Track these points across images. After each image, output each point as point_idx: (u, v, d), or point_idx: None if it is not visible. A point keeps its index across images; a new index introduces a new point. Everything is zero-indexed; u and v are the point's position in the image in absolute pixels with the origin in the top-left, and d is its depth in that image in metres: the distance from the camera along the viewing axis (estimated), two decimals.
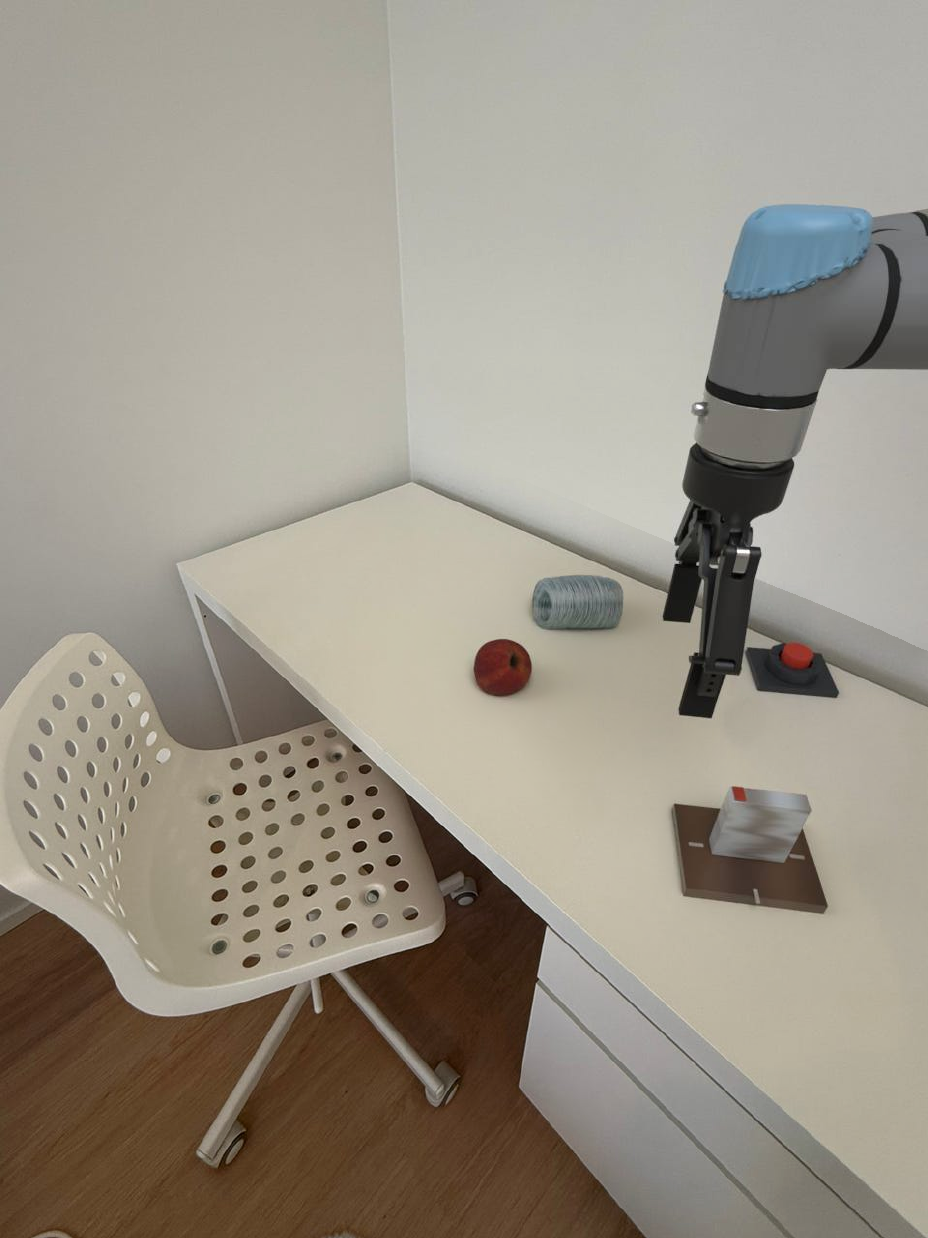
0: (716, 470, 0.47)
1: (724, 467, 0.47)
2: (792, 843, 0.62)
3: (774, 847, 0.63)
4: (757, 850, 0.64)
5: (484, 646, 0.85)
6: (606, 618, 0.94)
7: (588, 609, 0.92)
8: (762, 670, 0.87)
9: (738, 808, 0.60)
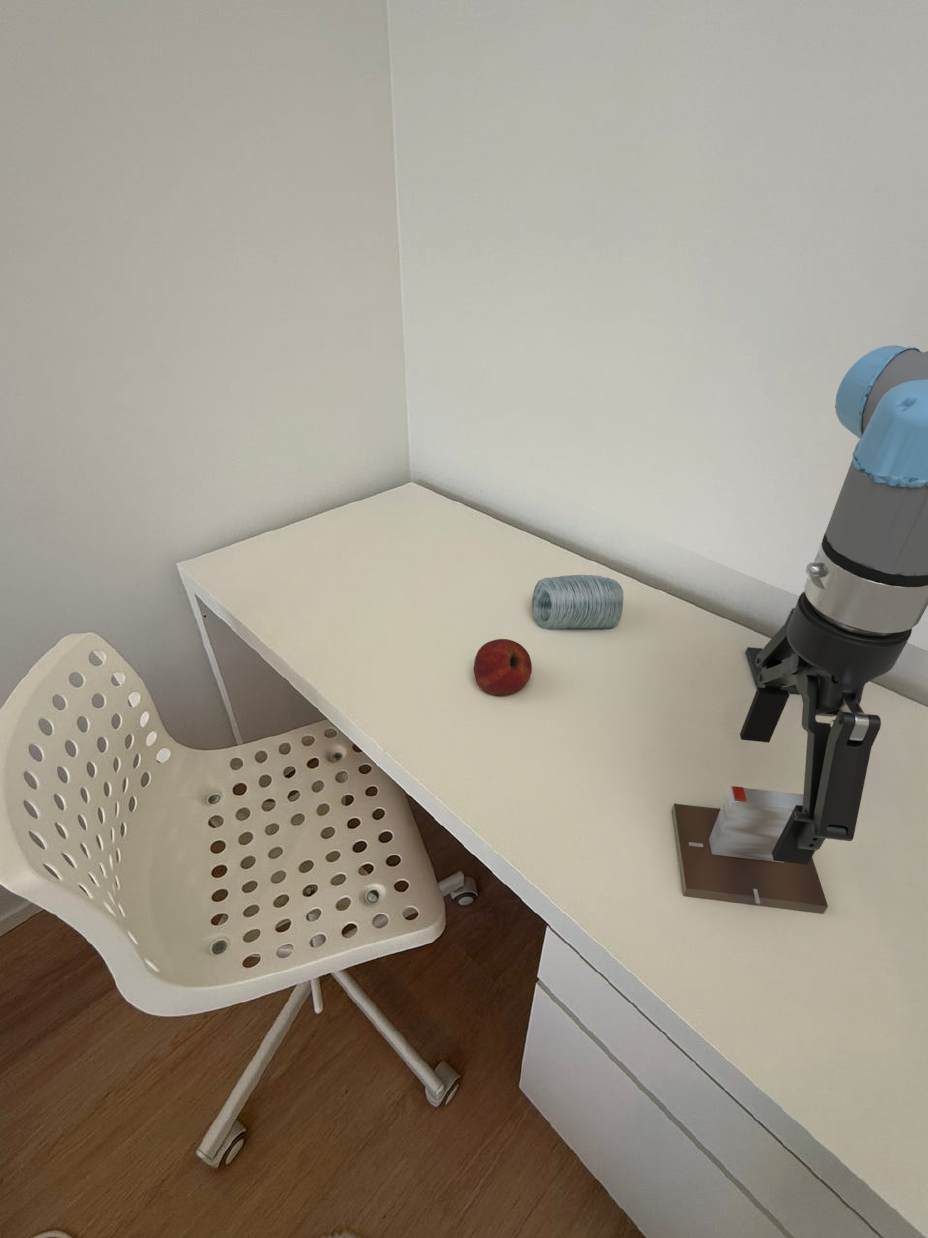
0: (833, 635, 0.45)
1: (842, 632, 0.45)
2: None
3: None
4: (757, 850, 0.64)
5: (484, 646, 0.85)
6: (606, 618, 0.94)
7: (588, 609, 0.92)
8: None
9: (738, 808, 0.60)
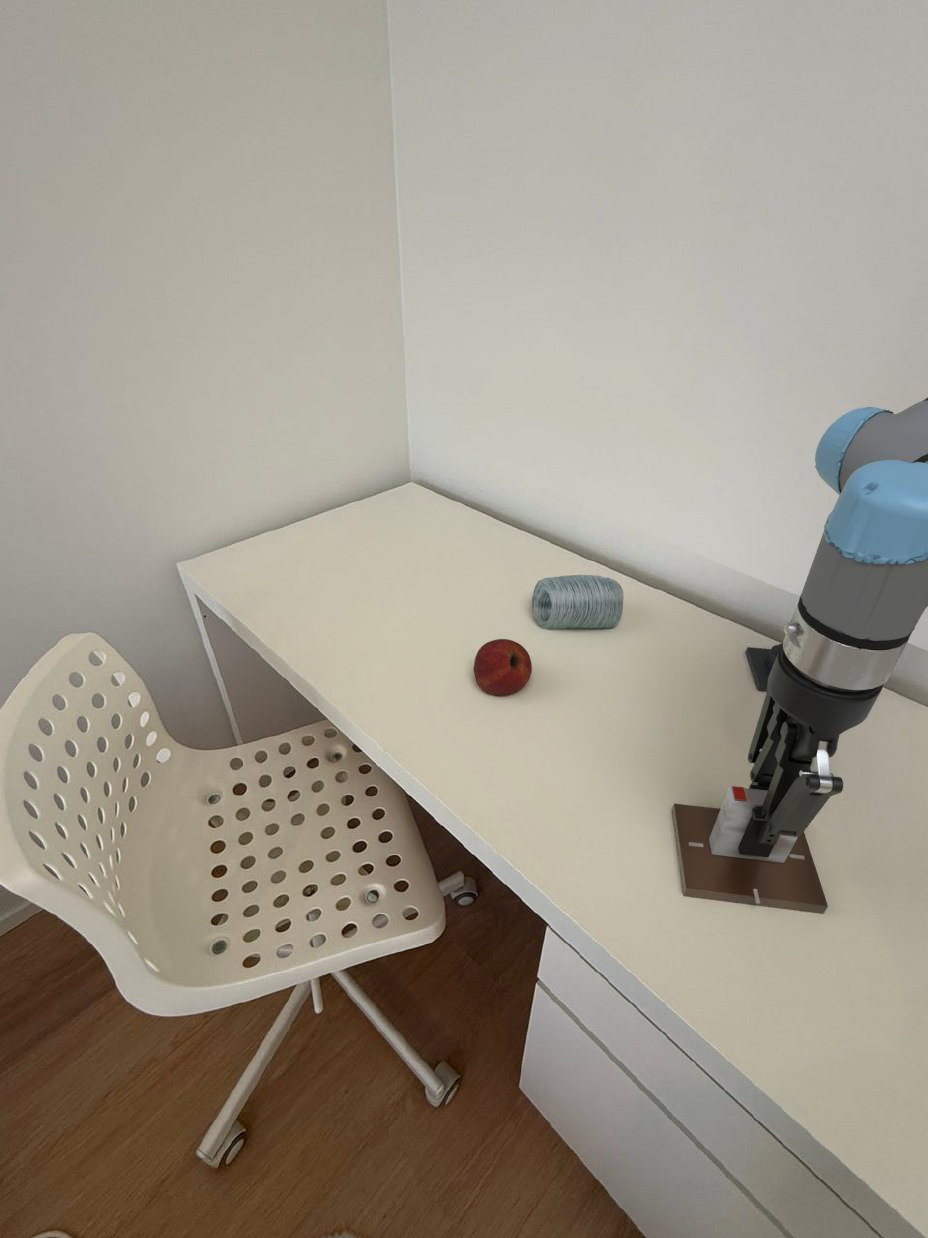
0: (809, 690, 0.48)
1: (817, 688, 0.48)
2: (792, 843, 0.62)
3: (774, 847, 0.63)
4: None
5: (484, 646, 0.85)
6: (606, 618, 0.94)
7: (588, 609, 0.92)
8: (762, 670, 0.87)
9: (738, 808, 0.60)
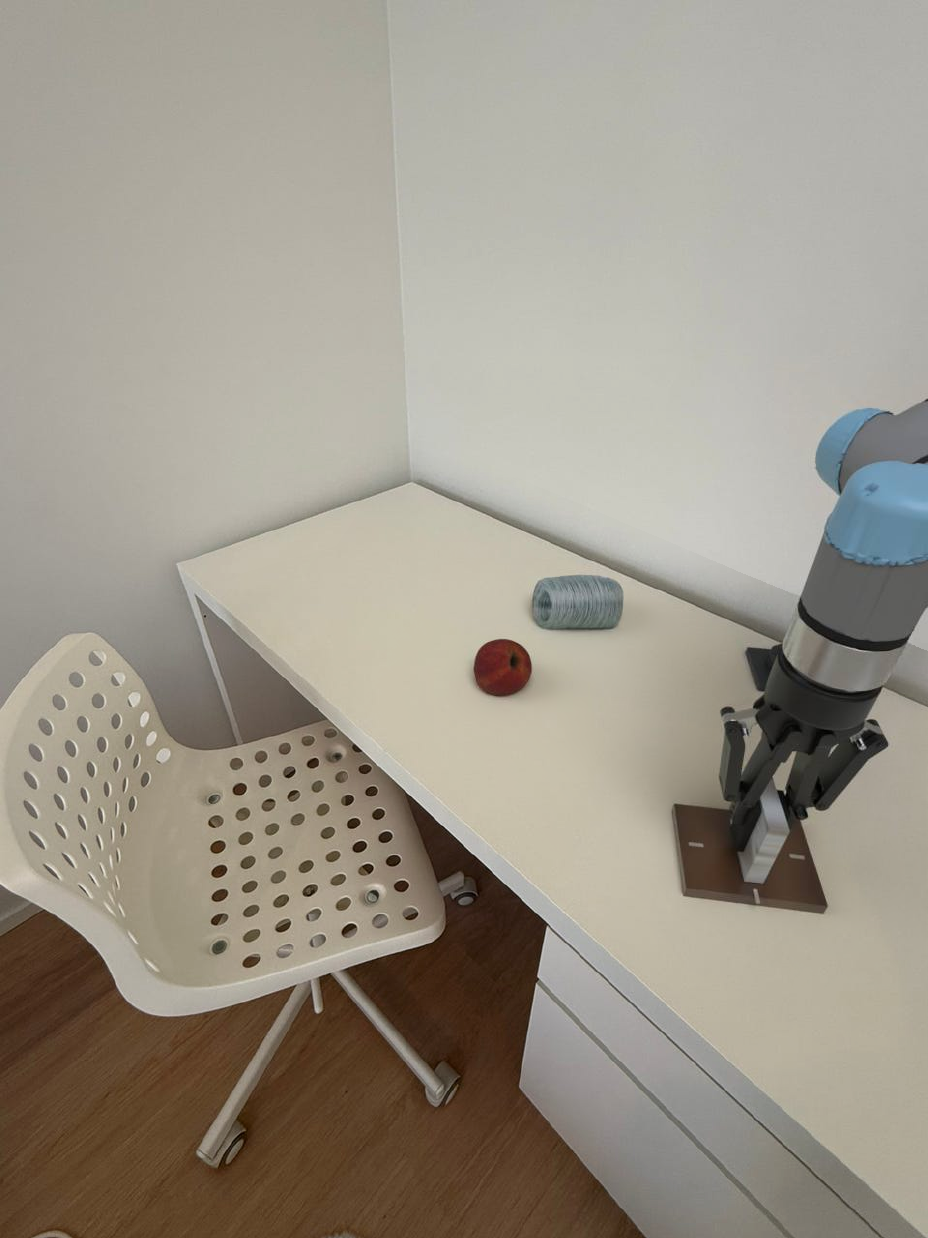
0: None
1: None
2: (752, 860, 0.61)
3: (746, 853, 0.62)
4: None
5: (484, 646, 0.85)
6: (606, 618, 0.94)
7: (588, 609, 0.92)
8: (762, 670, 0.87)
9: None
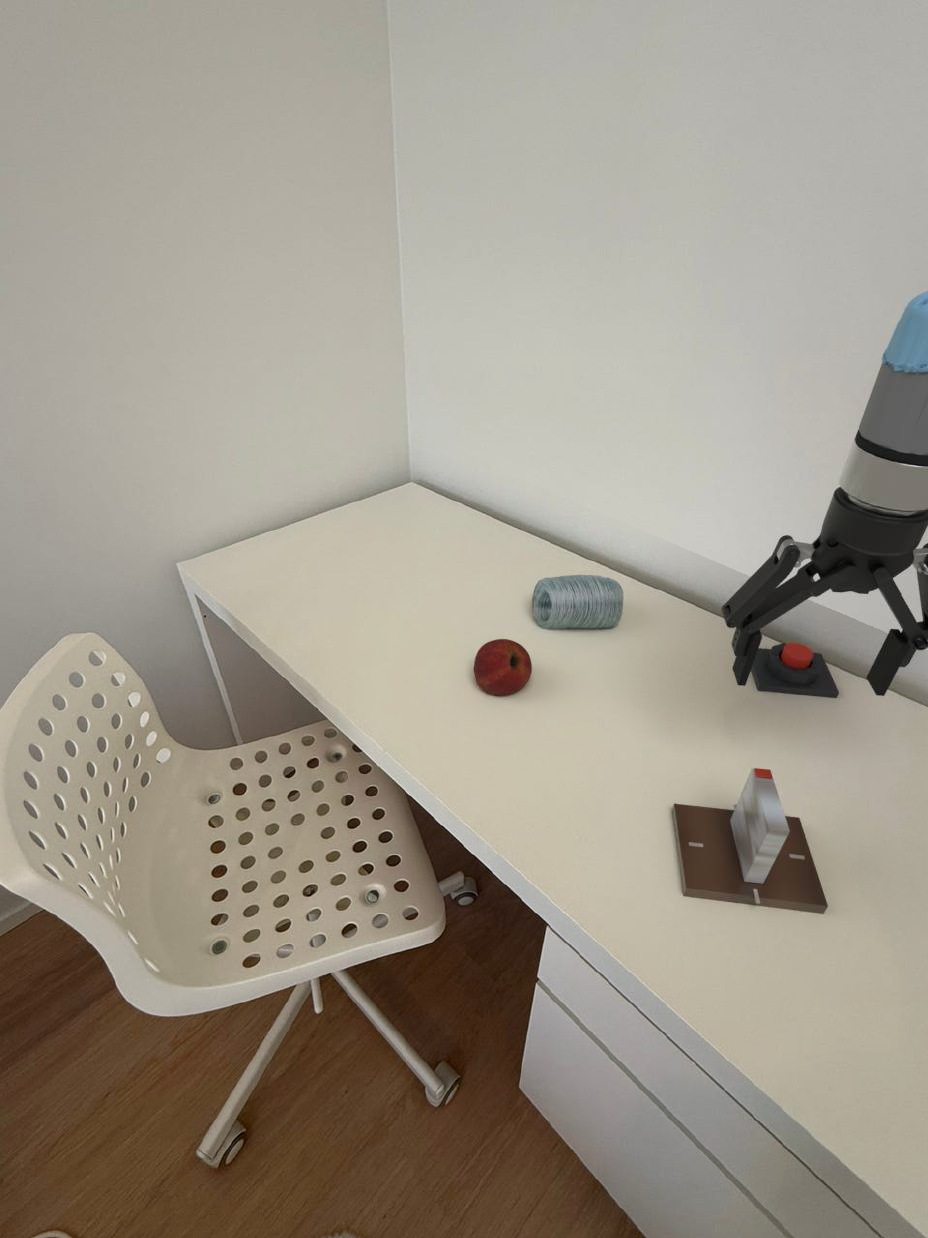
0: (838, 488, 0.57)
1: (840, 488, 0.56)
2: (752, 860, 0.61)
3: (746, 853, 0.62)
4: (741, 844, 0.64)
5: (484, 646, 0.85)
6: (606, 618, 0.94)
7: (588, 609, 0.92)
8: (762, 670, 0.87)
9: (750, 779, 0.63)
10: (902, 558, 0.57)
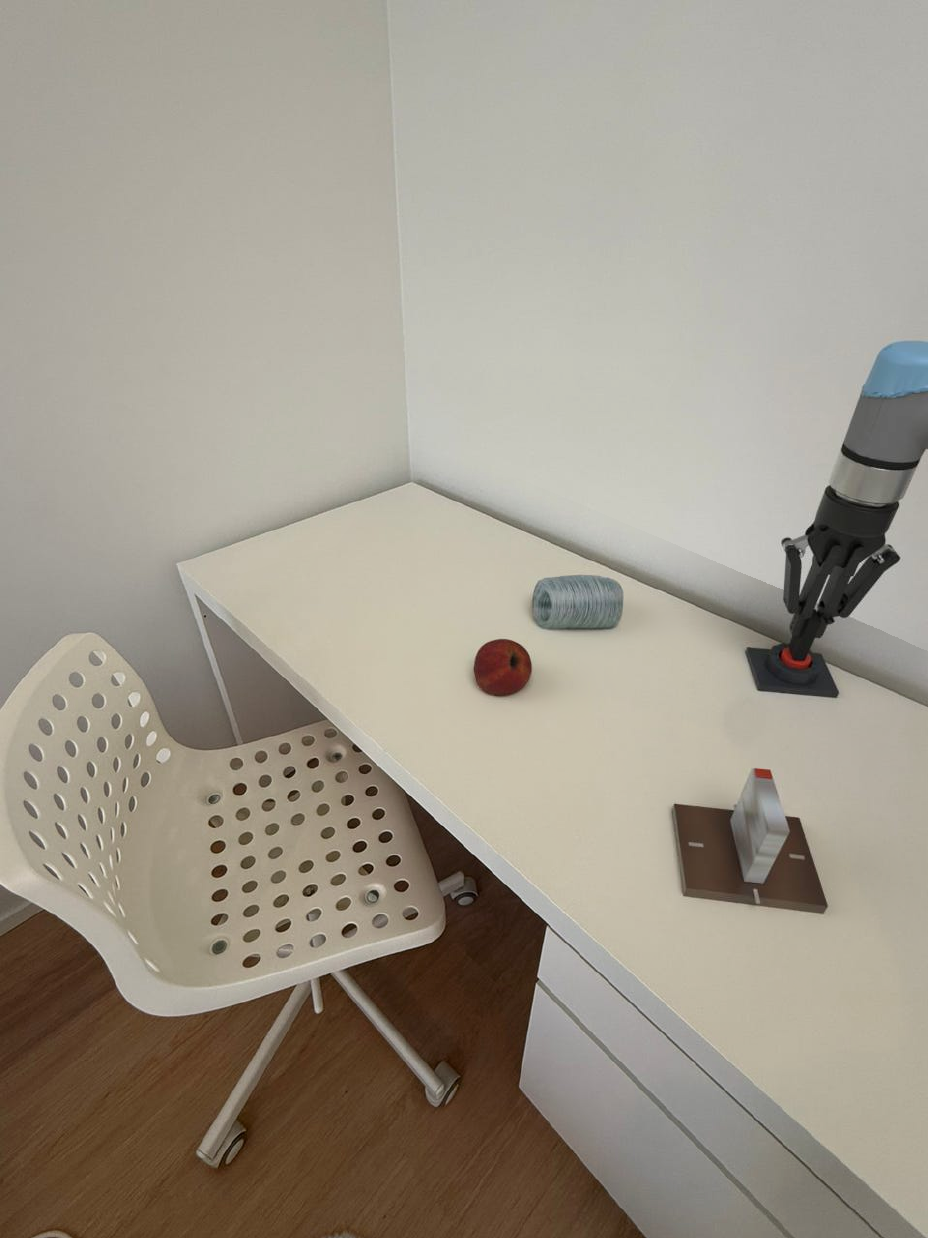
0: (828, 486, 0.74)
1: (830, 485, 0.74)
2: (752, 860, 0.61)
3: (746, 853, 0.62)
4: (741, 844, 0.64)
5: (484, 646, 0.85)
6: (606, 618, 0.94)
7: (588, 609, 0.92)
8: (762, 670, 0.87)
9: (750, 779, 0.63)
10: (879, 541, 0.74)
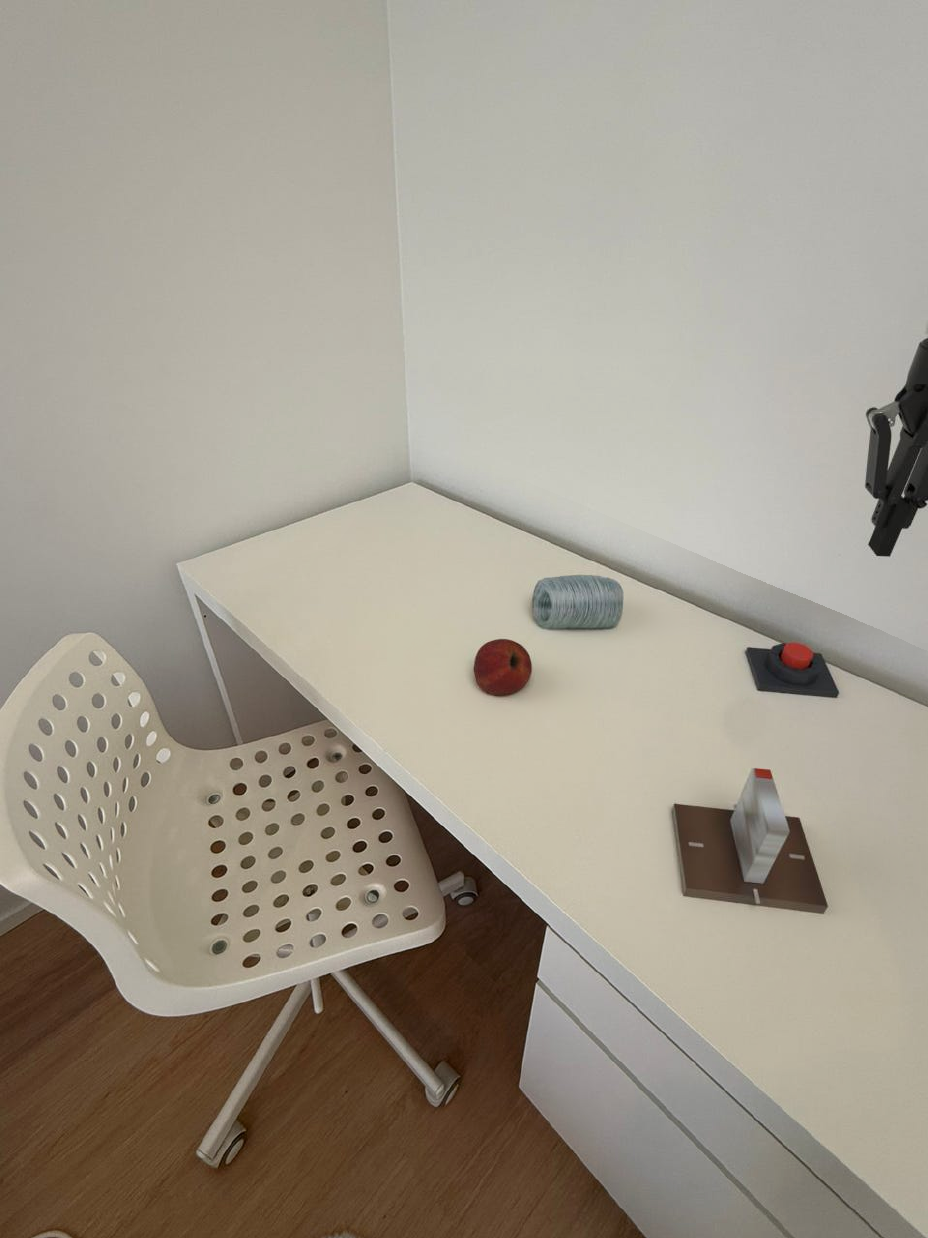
0: (922, 341, 0.66)
1: (924, 339, 0.65)
2: (752, 860, 0.61)
3: (746, 853, 0.62)
4: (741, 844, 0.64)
5: (484, 646, 0.85)
6: (606, 618, 0.94)
7: (588, 609, 0.92)
8: (762, 670, 0.87)
9: (750, 779, 0.63)
10: None
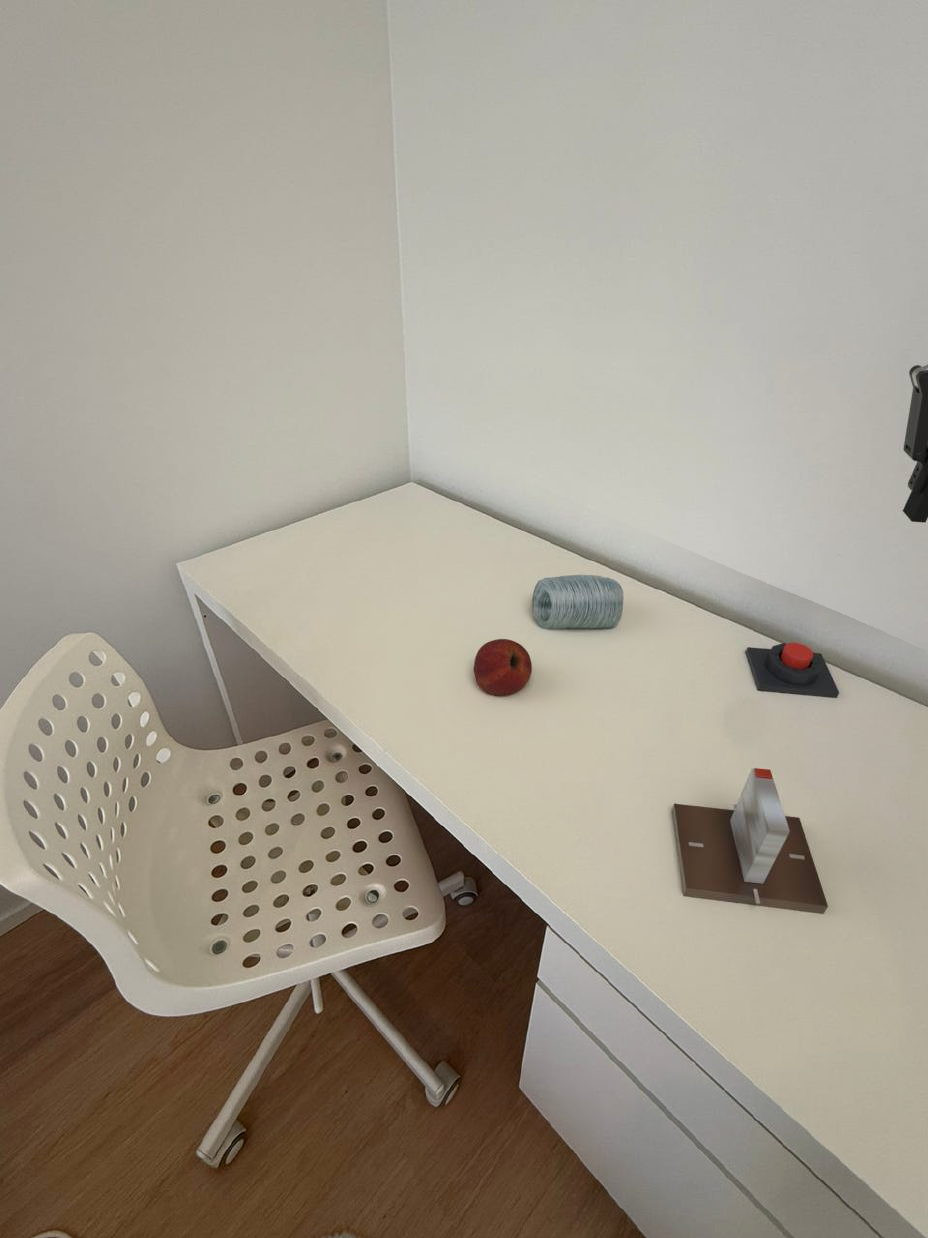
0: None
1: None
2: (752, 860, 0.61)
3: (746, 853, 0.62)
4: (741, 844, 0.64)
5: (484, 646, 0.85)
6: (606, 618, 0.94)
7: (588, 609, 0.92)
8: (762, 670, 0.87)
9: (750, 779, 0.63)
10: None
